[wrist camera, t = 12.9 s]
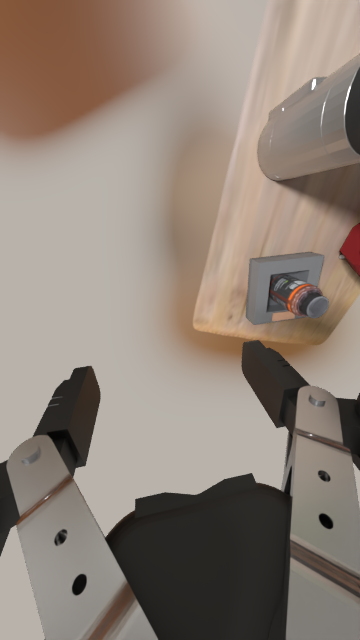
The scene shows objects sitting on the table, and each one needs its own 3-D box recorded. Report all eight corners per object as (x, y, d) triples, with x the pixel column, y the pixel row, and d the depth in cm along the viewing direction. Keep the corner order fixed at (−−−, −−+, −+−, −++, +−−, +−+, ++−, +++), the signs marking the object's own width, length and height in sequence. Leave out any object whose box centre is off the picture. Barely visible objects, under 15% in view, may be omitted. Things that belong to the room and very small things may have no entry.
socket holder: (249, 258, 43) (260, 263, 39) (309, 251, 44) (325, 255, 40) (245, 316, 49) (254, 325, 45) (298, 309, 50) (311, 317, 46)
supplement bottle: (282, 303, 48) (319, 328, 38) (261, 295, 46) (294, 318, 36) (298, 278, 46) (341, 297, 36) (276, 269, 44) (315, 286, 34)
